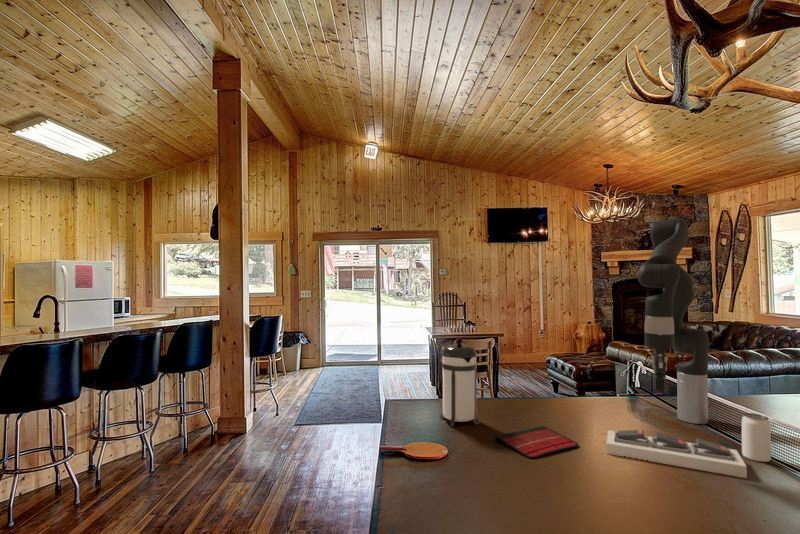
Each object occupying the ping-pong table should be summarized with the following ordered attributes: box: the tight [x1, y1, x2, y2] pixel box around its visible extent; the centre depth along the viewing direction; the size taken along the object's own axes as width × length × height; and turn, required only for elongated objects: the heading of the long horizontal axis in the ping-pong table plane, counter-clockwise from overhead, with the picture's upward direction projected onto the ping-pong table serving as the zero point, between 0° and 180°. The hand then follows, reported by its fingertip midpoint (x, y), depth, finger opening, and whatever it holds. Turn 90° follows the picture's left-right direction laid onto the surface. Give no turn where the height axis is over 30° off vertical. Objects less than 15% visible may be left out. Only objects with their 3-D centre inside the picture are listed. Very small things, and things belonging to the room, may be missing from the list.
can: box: [741, 412, 772, 463], centre depth 125 cm, size 6×6×12 cm
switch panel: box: [606, 429, 748, 479], centre depth 125 cm, size 12×33×4 cm, turn 62°
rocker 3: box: [695, 437, 729, 456], centre depth 121 cm, size 4×7×1 cm, turn 62°
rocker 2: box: [655, 431, 686, 449], centre depth 125 cm, size 4×7×1 cm, turn 62°
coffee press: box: [439, 337, 481, 428], centre depth 157 cm, size 17×16×30 cm
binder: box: [494, 425, 579, 460], centre depth 135 cm, size 16×2×21 cm
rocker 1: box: [617, 429, 646, 439], centre depth 130 cm, size 4×7×1 cm, turn 62°
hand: (659, 390), depth 127 cm, fingers closed
